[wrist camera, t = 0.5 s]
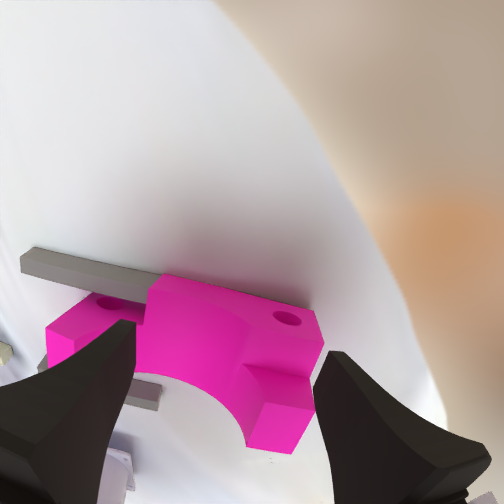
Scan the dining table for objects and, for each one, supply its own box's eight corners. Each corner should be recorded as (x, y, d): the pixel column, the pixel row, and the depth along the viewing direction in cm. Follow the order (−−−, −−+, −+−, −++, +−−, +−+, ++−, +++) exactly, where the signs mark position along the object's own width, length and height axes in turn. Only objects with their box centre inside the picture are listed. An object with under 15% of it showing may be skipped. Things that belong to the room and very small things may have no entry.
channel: (235, 406, 25) (236, 423, 23) (48, 363, 23) (39, 376, 21) (268, 294, 21) (271, 309, 19) (34, 246, 19) (19, 256, 17)
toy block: (313, 310, 21) (334, 373, 14) (285, 381, 23) (291, 454, 15) (106, 252, 21) (44, 286, 13) (100, 327, 22) (49, 378, 15)
